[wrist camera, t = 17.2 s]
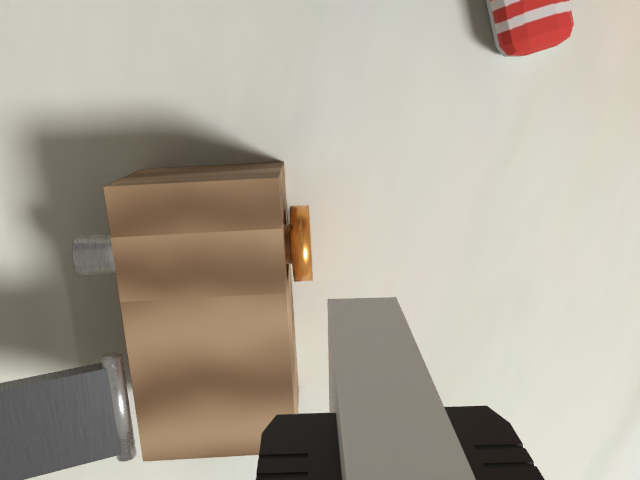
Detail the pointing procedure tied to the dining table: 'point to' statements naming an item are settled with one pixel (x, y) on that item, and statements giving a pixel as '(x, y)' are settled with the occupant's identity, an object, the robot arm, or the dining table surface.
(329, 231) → the dining table surface
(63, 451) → the silver flat rectangular plate
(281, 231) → the block
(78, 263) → the pin
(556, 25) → the toy
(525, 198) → the dining table surface
